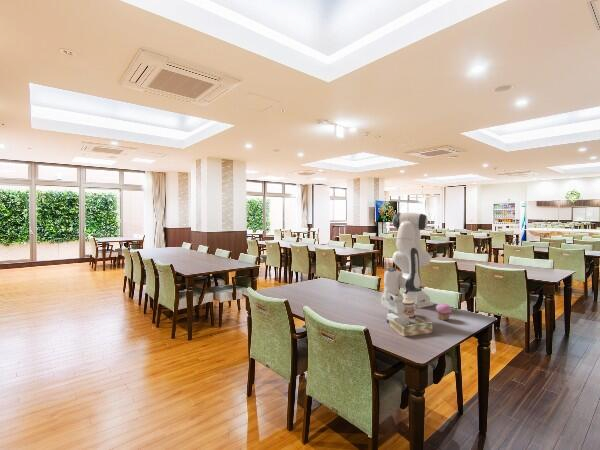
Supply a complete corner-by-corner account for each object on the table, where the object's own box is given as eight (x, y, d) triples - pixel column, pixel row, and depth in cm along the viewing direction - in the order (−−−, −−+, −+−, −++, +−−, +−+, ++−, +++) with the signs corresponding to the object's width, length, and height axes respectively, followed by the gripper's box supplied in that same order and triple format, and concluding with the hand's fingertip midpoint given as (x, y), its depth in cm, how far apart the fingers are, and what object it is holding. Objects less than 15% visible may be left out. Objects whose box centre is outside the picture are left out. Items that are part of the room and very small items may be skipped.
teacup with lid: (404, 318, 198) (404, 299, 198) (396, 313, 207) (396, 296, 207) (421, 316, 201) (421, 298, 200) (413, 312, 210) (413, 294, 209)
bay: (416, 324, 186) (416, 314, 186) (432, 332, 173) (432, 322, 173) (390, 327, 182) (389, 318, 181) (403, 336, 169) (403, 326, 168)
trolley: (401, 319, 196) (401, 311, 196) (410, 324, 187) (410, 316, 187) (384, 321, 193) (384, 313, 193) (393, 326, 184) (393, 318, 184)
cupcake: (445, 316, 200) (445, 301, 199) (454, 321, 191) (454, 304, 191) (433, 317, 198) (432, 301, 198) (441, 322, 190) (441, 305, 189)
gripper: (378, 291, 205) (378, 312, 205) (395, 299, 185) (396, 322, 185) (387, 290, 206) (387, 311, 207) (405, 298, 187) (405, 321, 187)
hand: (391, 316), depth 196 cm, fingers closed
